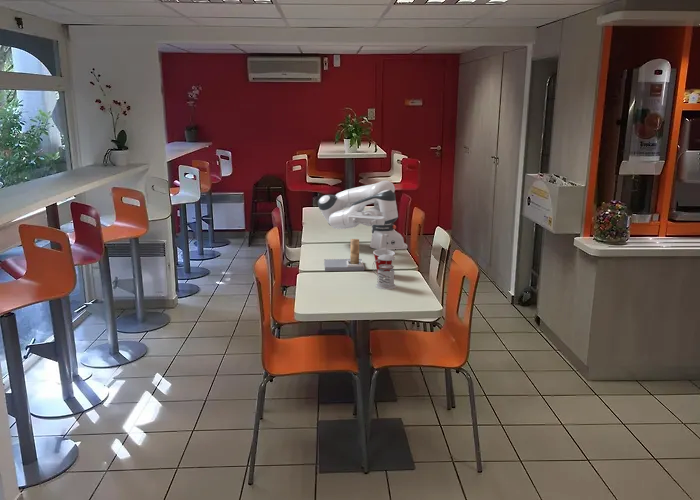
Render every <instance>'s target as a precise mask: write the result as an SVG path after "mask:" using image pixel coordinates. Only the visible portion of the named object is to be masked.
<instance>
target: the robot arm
mask: <svg viewBox="0 0 700 500" xmlns="http://www.w3.org/2000/svg"><path fill="white" fill-rule="evenodd" d="M395 191H396V186H395V185H394V183H393V182H391V181H389V180H381V181H379V182H376V183H373V184H367V185H366V184H365V185H361V186H357V187H352V188H349V189H345V190H343V191H340V192H337V193H336V194H325V195H322V196H320V198H319V199H318V200H317V206H318V209H319V211H320V212H321V215H322V217H324V219H325V221H326V222H327V224H328V225H329V226H330V227H331V228H333V229H339V230H340V229H341V230H343V229H344V230H345V229H351V228H356V227H358V226H359V225H364V226H367V227H371V240H370V244H369V248H371V249H375V250H378V249H386V240H387V250H391V251H393V250H394V251H395V249H396V250H407V249H408V244H407V243H405V242H404V237H403V235H402V234H401V233H399V232H398V231H396V229H397V226H396V225H395V224H394V223H395V222H396V221H397V219H398V218H399V213H398V205H397V201H396V199H397V198H396V193H395ZM371 204H373V207H370V208H368V209H366V210H365V207H366V206H367V205H371ZM385 234H388V235H389V237H385Z"/></svg>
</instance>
